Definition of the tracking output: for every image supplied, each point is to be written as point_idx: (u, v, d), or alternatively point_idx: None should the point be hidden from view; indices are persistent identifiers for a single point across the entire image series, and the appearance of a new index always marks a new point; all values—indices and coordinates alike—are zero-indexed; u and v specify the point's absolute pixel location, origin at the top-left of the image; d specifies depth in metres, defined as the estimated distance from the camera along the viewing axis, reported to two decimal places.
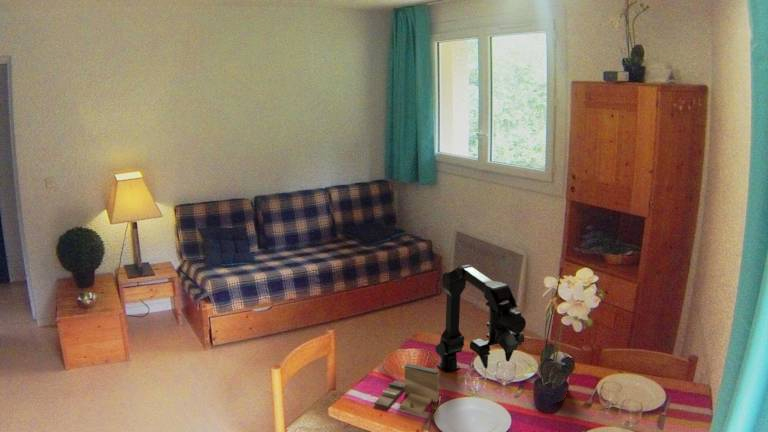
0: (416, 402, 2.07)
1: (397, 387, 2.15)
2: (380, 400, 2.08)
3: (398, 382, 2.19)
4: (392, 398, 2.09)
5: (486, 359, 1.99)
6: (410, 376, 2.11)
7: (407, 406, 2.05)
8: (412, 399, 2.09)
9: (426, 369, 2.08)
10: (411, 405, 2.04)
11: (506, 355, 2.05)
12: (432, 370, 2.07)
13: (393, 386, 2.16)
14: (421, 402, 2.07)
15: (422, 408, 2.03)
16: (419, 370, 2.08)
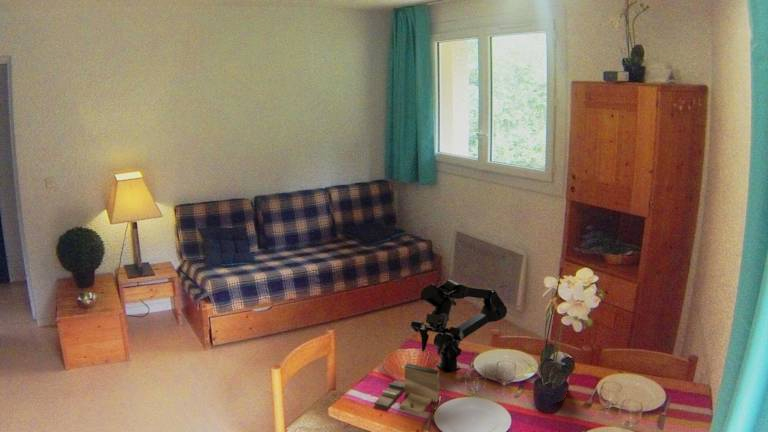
0: (416, 402, 2.07)
1: (397, 387, 2.15)
2: (380, 400, 2.08)
3: (398, 382, 2.19)
4: (392, 398, 2.09)
5: (422, 339, 2.18)
6: (410, 376, 2.11)
7: (407, 406, 2.05)
8: (412, 399, 2.09)
9: (426, 369, 2.08)
10: (411, 405, 2.04)
11: None
12: (432, 370, 2.07)
13: (393, 386, 2.16)
14: (421, 402, 2.07)
15: (422, 408, 2.03)
16: (419, 370, 2.08)
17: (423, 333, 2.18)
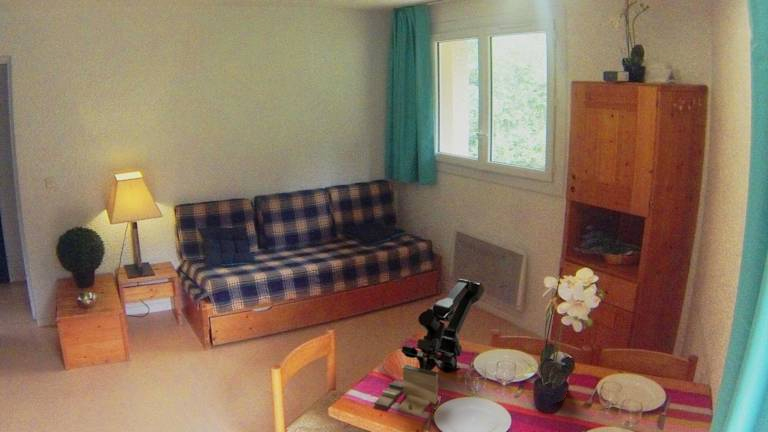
0: (414, 404, 2.06)
1: (397, 387, 2.15)
2: (380, 400, 2.08)
3: (398, 382, 2.19)
4: (392, 398, 2.09)
5: (421, 366, 2.11)
6: (408, 377, 2.10)
7: (406, 408, 2.04)
8: (410, 401, 2.08)
9: (425, 371, 2.07)
10: (409, 407, 2.03)
11: None
12: (431, 372, 2.06)
13: (393, 386, 2.16)
14: (419, 404, 2.06)
15: (420, 410, 2.02)
16: (417, 371, 2.07)
17: (421, 360, 2.11)
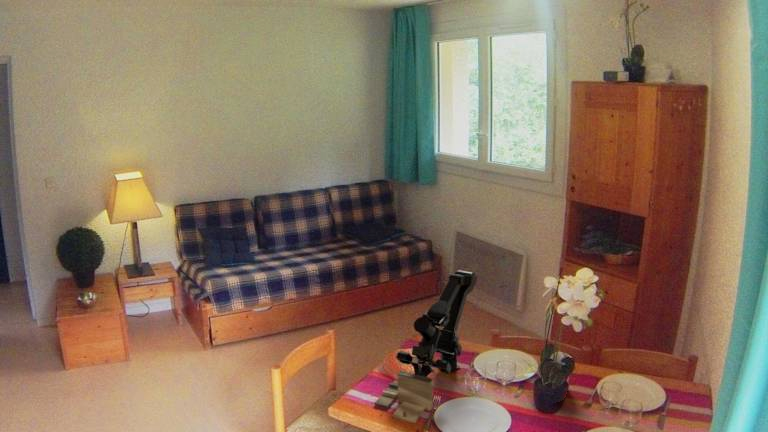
0: (409, 411, 2.02)
1: (397, 387, 2.15)
2: (380, 400, 2.08)
3: None
4: (392, 398, 2.09)
5: (416, 373, 2.07)
6: (403, 384, 2.06)
7: (400, 415, 2.00)
8: (405, 408, 2.04)
9: (419, 377, 2.03)
10: (404, 414, 1.99)
11: None
12: (425, 378, 2.02)
13: (393, 386, 2.16)
14: (414, 411, 2.02)
15: (415, 417, 1.98)
16: (412, 377, 2.03)
17: (416, 367, 2.08)
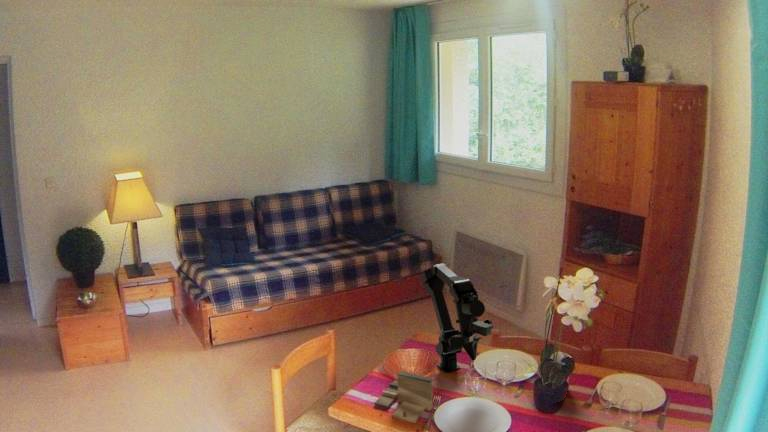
0: (409, 411, 2.02)
1: (397, 387, 2.15)
2: (380, 400, 2.08)
3: None
4: (392, 398, 2.09)
5: (473, 349, 2.10)
6: (403, 384, 2.06)
7: (400, 415, 2.00)
8: (405, 408, 2.04)
9: (419, 377, 2.03)
10: (404, 414, 1.99)
11: None
12: (425, 378, 2.02)
13: (393, 386, 2.16)
14: (414, 411, 2.02)
15: (415, 417, 1.98)
16: (412, 377, 2.03)
17: (474, 343, 2.10)
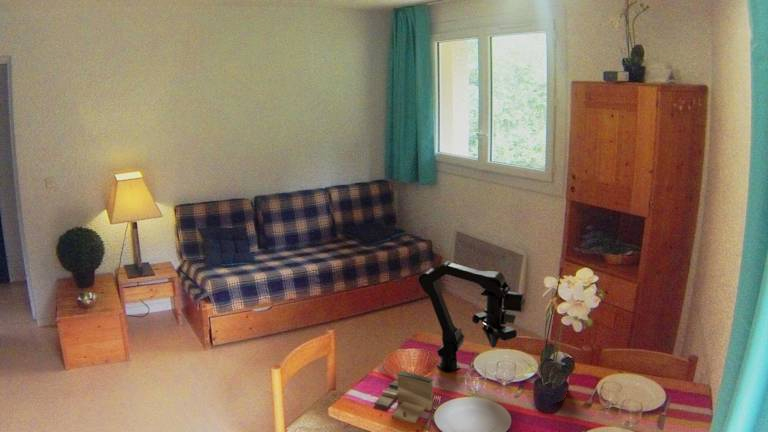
0: (409, 411, 2.02)
1: (397, 387, 2.15)
2: (380, 400, 2.08)
3: None
4: (392, 398, 2.09)
5: None
6: (403, 384, 2.06)
7: (400, 415, 2.00)
8: (405, 408, 2.04)
9: (419, 377, 2.03)
10: (404, 414, 1.99)
11: None
12: (425, 378, 2.02)
13: (393, 386, 2.16)
14: (414, 411, 2.02)
15: (415, 417, 1.98)
16: (412, 377, 2.03)
17: None
